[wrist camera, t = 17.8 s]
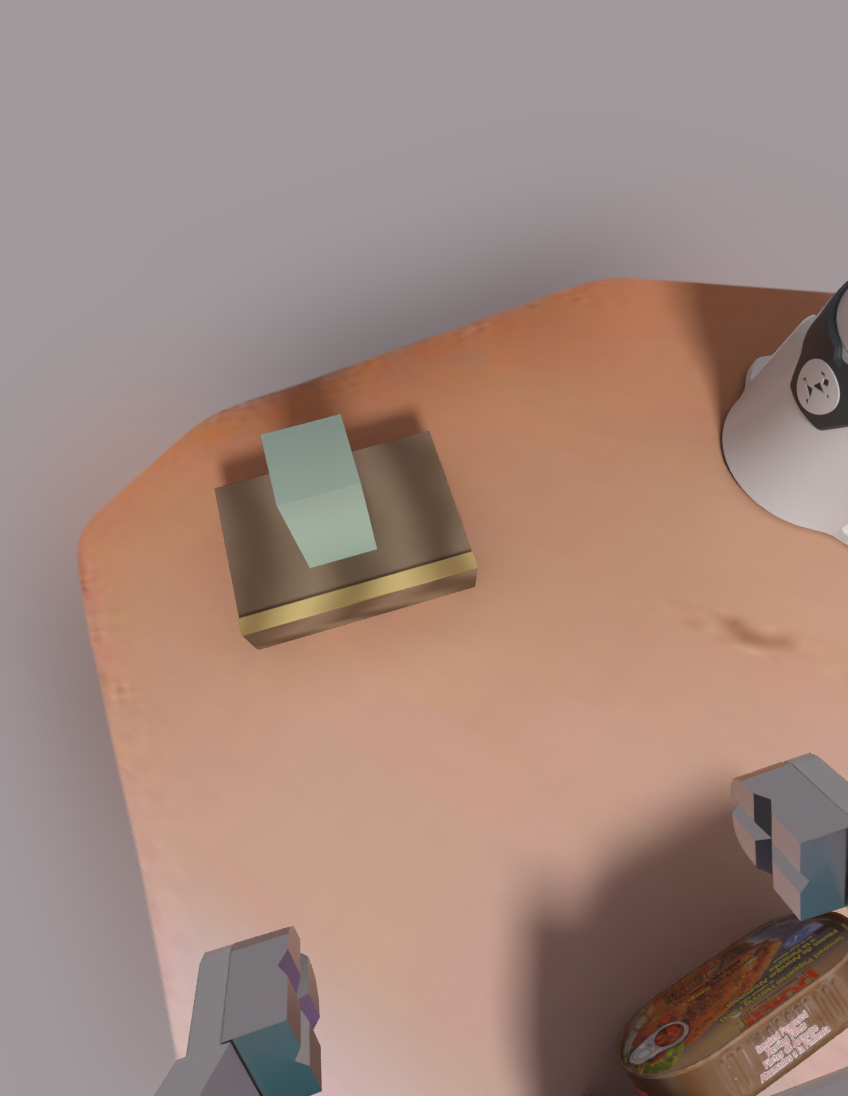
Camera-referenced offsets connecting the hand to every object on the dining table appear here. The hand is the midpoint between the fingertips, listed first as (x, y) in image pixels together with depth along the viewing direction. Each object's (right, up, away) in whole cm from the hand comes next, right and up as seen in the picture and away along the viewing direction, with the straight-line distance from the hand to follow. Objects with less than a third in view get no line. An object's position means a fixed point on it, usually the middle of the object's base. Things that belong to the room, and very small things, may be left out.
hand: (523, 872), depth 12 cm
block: (-8, +7, +36) cm, 38 cm away
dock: (-8, +6, +40) cm, 41 cm away
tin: (+16, -21, +28) cm, 39 cm away
